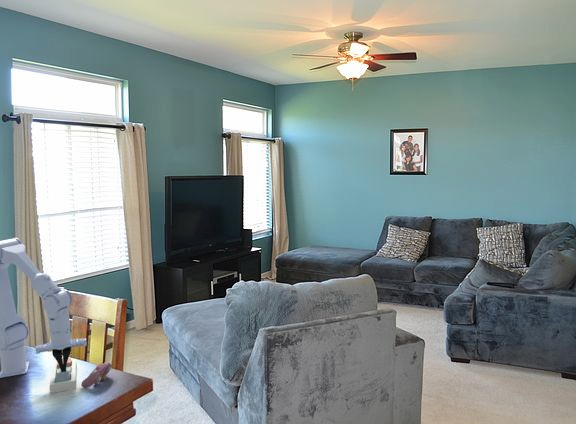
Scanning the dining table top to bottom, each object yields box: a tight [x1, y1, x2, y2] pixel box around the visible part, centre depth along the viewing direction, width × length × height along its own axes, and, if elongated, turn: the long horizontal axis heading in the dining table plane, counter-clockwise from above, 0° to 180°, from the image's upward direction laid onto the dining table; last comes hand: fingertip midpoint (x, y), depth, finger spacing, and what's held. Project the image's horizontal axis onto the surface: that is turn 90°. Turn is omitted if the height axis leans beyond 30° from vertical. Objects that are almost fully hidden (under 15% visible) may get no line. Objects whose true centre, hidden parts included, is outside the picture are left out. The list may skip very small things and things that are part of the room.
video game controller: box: [80, 361, 113, 389], centre depth 154 cm, size 10×5×7 cm, turn 169°
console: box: [49, 358, 78, 394], centre depth 157 cm, size 18×7×2 cm, turn 22°
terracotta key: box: [56, 357, 72, 368], centre depth 161 cm, size 4×4×2 cm
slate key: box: [55, 371, 70, 383], centre depth 151 cm, size 4×4×2 cm
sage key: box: [57, 367, 71, 373], centre depth 156 cm, size 4×4×2 cm
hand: (63, 370), depth 156 cm, fingers closed, pressing on sage key
